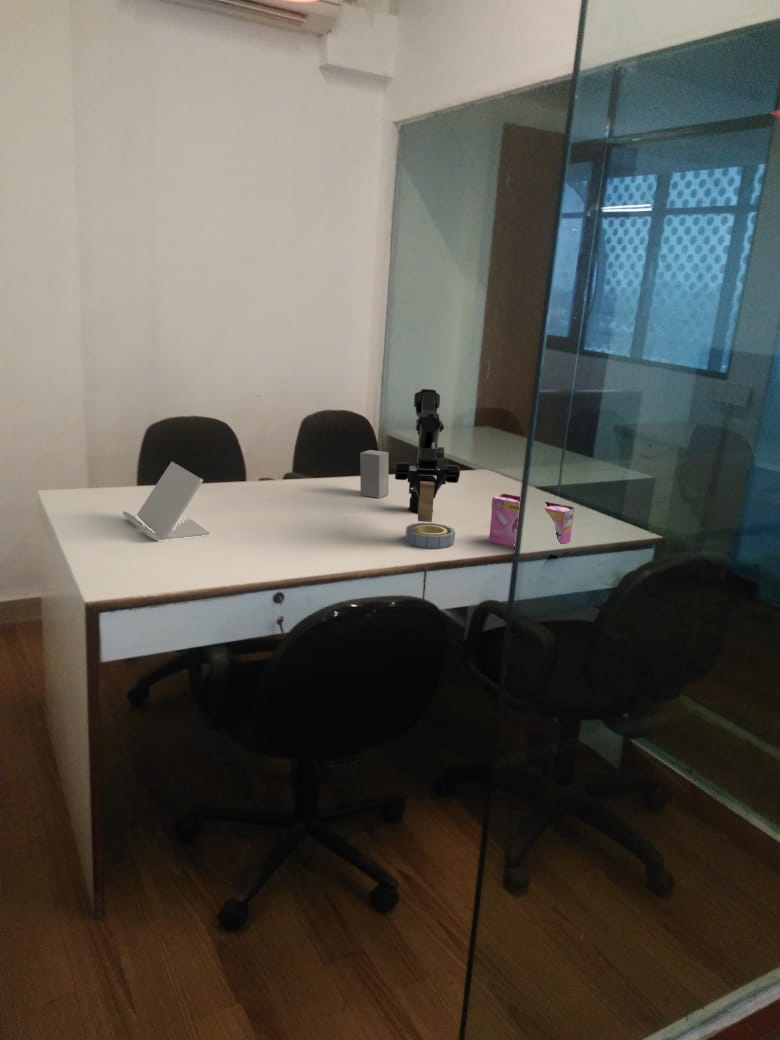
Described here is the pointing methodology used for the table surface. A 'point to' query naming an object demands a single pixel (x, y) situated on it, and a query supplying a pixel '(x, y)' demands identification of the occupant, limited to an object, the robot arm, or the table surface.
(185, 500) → the tablet stand
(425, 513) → the brown wooden block
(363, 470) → the skincare box
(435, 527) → the grey round dish
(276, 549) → the table surface
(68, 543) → the table surface
